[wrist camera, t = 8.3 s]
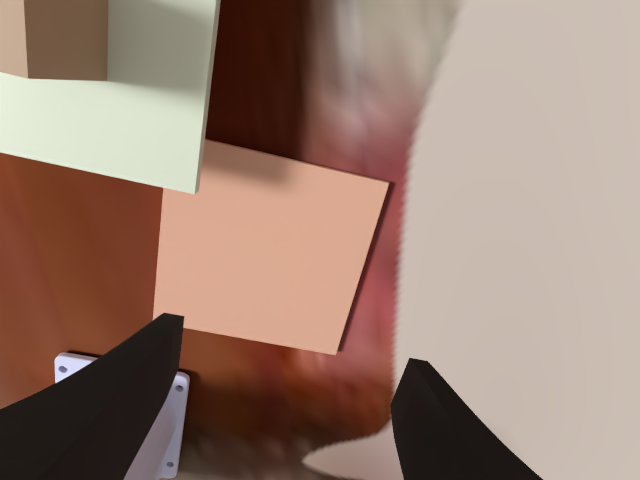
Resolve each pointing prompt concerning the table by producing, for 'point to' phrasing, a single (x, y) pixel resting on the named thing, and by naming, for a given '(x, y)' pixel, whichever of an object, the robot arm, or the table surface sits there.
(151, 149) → the lid
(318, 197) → the peach square plate
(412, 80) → the table surface
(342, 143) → the table surface
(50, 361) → the table surface
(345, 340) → the table surface
